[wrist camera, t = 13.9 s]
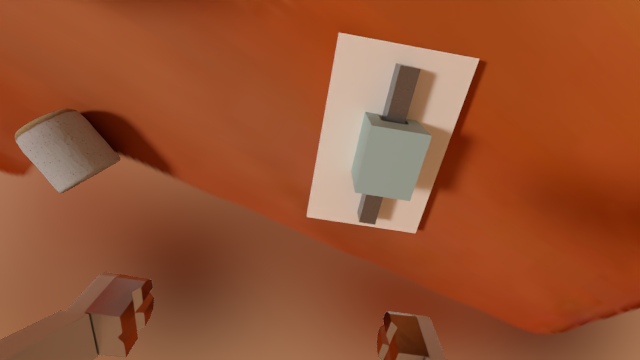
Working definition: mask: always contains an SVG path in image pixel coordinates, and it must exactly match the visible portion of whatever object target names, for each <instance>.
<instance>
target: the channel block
mask: <svg viewBox="0 0 640 360" xmlns="http://www.w3.org/2000/svg"><path fill="white" fill-rule="evenodd" d="M431 138H432V135H431V134H430V133H429V132H428V131H427V130H426V129H425V128H424V127H423V126H422V125H421V124H420V123H419V122H418V121H416V120H410V119H406V121H405V124H400V123H394V122H388V121H383V120H381V119H380V117H379V116H378V114H375V113H369V112H365V113H364V117H363V122H362V126H361V130H360V135H359V139H358V143H357V148H356V152H355V156H354V160H353V165H352V169H351V174H352V179H353V185H354V190H355V193H361V194H367V195H373V196H380V197H386V198H393V199H399V200H405V201H410V200H411V197H412V194H413V191H414V188H415V185H416V182H417V179H418V176H419V173H420V170H421V167H422V164H423V161H424V158H425V155H426V152H427V149H428V146H429V144H430V141H431Z"/></svg>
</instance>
